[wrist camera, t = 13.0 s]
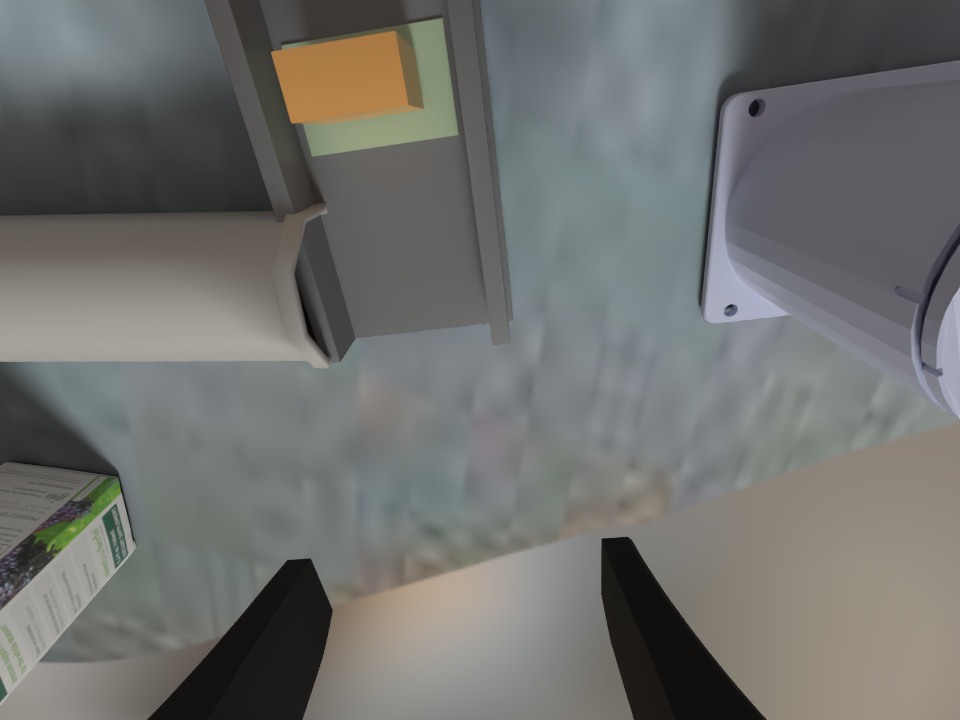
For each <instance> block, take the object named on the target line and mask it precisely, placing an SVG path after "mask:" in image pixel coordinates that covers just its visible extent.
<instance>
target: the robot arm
mask: <svg viewBox="0 0 960 720" xmlns="http://www.w3.org/2000/svg"><path fill="white" fill-rule="evenodd" d="M754 100H757V101H758V102H759V109H758V112H757V113H756V114H755V115H754V116H752V117H751V116H750V114H749V110H748V109H749V106H750V104H751V103H752V102H753V101H754ZM730 304H733V307H732V309H731V310H730V311H729V312H727V313H724V309H725V307H727V306H728V305H730ZM701 315H702V316H703V318H704V319H706V320H707V321H708V322H710V323H721V322H730V321H740V320H749V319H758V318H767V317H776V316H785V315H791V316H793V317H795V318H796V319H798V320H799V321H801V322H803V323H804V324H806V325H807V326H809V327H811V328H812V329H814V330H815V331H817V332H819V333H820V334H822V335H823V336H825V337H827V338H828V339H830V340H831V341H833V342H835V343H836V344H838V345H839V346H841V347H843V348H844V349H846V350H847V351H849V352H851V353H852V354H854V355H855V356H857V357H859V358H860V359H862V360H863V361H865V362H867V363H868V364H870V365H871V366H873V367H875V368H876V369H878V370H879V371H881V372H883V373H884V374H886V375H887V376H889V377H891V378H892V379H894V380H895V381H897V382H899V383H900V384H902V385H903V386H905V387H907V388H908V389H910V390H911V391H913V392H915V393H916V394H918V395H919V396H921V397H923V398H924V399H926V400H927V401H929V402H931V403H932V404H934V405H935V406H937V407H939V408H940V409H942V410H943V411H945V412H946V413H948V414H950V415H951V416H954V417H955V418H957V419H958V420H960V60H958V61H951V62H945V63H938V64H931V65H924V66H918V67H911V68H904V69H898V70H891V71H884V72H877V73H871V74H864V75H857V76H851V77H844V78H837V79H830V80H824V81H817V82H810V83H804V84H797V85H790V86H783V87H777V88H770V89H763V90H756V91H750V92H743V93H737V94H734V95H732V96H730V97H729V98H728V99H727V100H726V101H725V102H724V104H723V105H722V108H721V112H720V119H719V129H718V140H717V150H716V160H715V170H714V180H713V191H712V201H711V211H710V221H709V232H708V242H707V252H706V262H705V273H704V283H703V293H702V303H701ZM601 557H602V559H601V562H602V563H601V564H602V565H601V568H602V570H601V571H602V572H601V586H602V587H601V595H602V600H603V605H604V610H605V615H606V620H607V625H608V630H609V635H610V640H611V644H612V647H613V651H614V654H615V657H616V661H617V664H618V668H619V671H620V674H621V678H622V681H623V684H624V688H625V691H626V694H627V698H628V701H629V704H630V708H631V711H632V714H633V718H634V720H766V718H765V717H764V716H763V715H762V714H761V713H760V712H759V711H758V710H757V709H756V707H755V706H754V705H753V704H752V703H751V702H750V701H749V700H748V698H747V697H746V696H745V695H744V694H743V692H742V691H741V690H740V689H739V688H738V687H737V685H736V684H735V683H734V682H733V681H732V679H731V678H730V677H729V676H728V675H727V674H726V672H725V671H724V670H723V669H722V667H721V666H720V665H719V664H718V662H717V661H716V660H715V659H714V657H713V656H712V655H711V654H710V653H709V651H708V650H707V649H706V648H705V647H704V645H703V644H702V642H701V641H700V640H699V638H698V637H697V636H696V635H695V633H694V632H693V631H692V629H691V628H690V627H689V625H688V624H687V623H686V621H685V620H684V618H683V617H682V616H681V614H680V613H679V612H678V610H677V609H676V608H675V606H674V605H673V603H672V602H671V601H670V599H669V598H668V596H667V595H666V594H665V592H664V591H663V589H662V588H661V586H660V585H659V583H658V582H657V580H656V579H655V577H654V576H653V574H652V573H651V571H650V569H649V568H648V566H647V565H646V563H645V562H644V560H643V558H642V557H641V555H640V553H639V552H638V550H637V548H636V546H635V545H634V543H633V541H632V540H631V539H630V538H628V537H619V538H604V539H602V554H601ZM332 612H333V610H332V607H331V605H330V603H329V600H328V598H327V596H326V593H325V591H324V589H323V586H322V584H321V581H320V579H319V577H318V574H317V572H316V570H315V567H314V565H313V563H312V560H311V559H296V560H287V561H286V562H285V564H284V565H283V566H282V567H281V568H280V570H279V571H278V572H277V573H276V574H275V575H274V577H273V578H272V579H271V580H270V581H269V583H268V584H267V585H266V586H265V587H264V589H263V590H262V591H261V592H260V594H259V595H258V596H257V597H256V598H255V600H254V601H253V602H252V603H251V604H250V606H249V607H248V608H247V609H246V610H245V612H244V613H243V614H242V615H241V616H240V618H239V619H238V620H237V621H236V622H235V623H234V625H233V626H232V627H231V628H230V629H229V630H228V632H227V633H226V634H225V635H224V636H223V638H222V639H221V640H220V641H219V642H218V643H217V645H216V646H215V647H214V648H213V649H212V650H211V651H210V653H209V654H208V655H207V656H206V657H205V658H204V659H203V660H202V662H201V663H200V664H199V665H198V666H197V667H196V668H195V669H194V670H193V671H192V673H191V674H190V675H189V676H188V677H187V678H186V679H185V681H183V682H182V684H181V685H180V686H179V687H178V688H177V689H176V690H175V691H174V693H172V695H171V696H170V697H169V698H168V699H167V700H166V701H165V702H164V703H163V704H162V705H161V706H160V707H159V708H158V709H157V710H156V711H155V712H154V713H153V714H152V715H151V717H149V718H148V719H147V720H302V719H303V716H304V713H305V710H306V707H307V704H308V701H309V698H310V695H311V692H312V689H313V686H314V683H315V680H316V677H317V674H318V671H319V667H320V664H321V661H322V658H323V654H324V649H325V645H326V641H327V637H328V631H329V627H330V621H331V617H332Z"/></svg>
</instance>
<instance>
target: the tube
mask: <svg viewBox="0 0 960 720" xmlns="http://www.w3.org/2000/svg"><path fill="white" fill-rule="evenodd" d="M326 213H328V212H327V206H326V204H325V203H316V204H314V205H312V206H310V207H308V208H306V209H304V210H302V211H300V212H298V213H296V214H287V215H286V216H285V219H284V221H283V222H280V223H277V220H276V217H275V214H274V211H238V212H180V213H121V214H63V215H5V216H0V362H83V361H306V362H309V363H310V364H311V365H312V366H313V367H314V368H328V367H329V366H330V364H331V363H332V357H331V356H326V355H325V354H324V353H323V352H322V350H321V349H320V348H319V347H318V344H317V341H316V338H315V335H314V332H313V329H312V326H311V323H310V320H309V317H308V314H307V311H306V308H305V305H304V302H303V299H302V296H301V293H300V290H299V287H298V284H297V281H296V278H295V274H294V273H295V269H296V265H297V260H298V256H299V251H300V247H301V242H302V238H303V234H304V229H305V225H306V222H308V221H310V220H311V219H313V218H315V217H317V216H319V215H320V214H326Z"/></svg>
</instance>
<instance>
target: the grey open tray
mask: <svg viewBox="0 0 960 720" xmlns="http://www.w3.org/2000/svg"><path fill="white" fill-rule="evenodd" d="M204 1H205V4H206V7H207V10H208V13H209V16H210V19H211V22H212V25H213V28H214V31H215V34H216V37H217V40H218V44H219V47H220V50H221V53H222V56H223V59H224V62H225V65H226V68H227V71H228V74H229V77H230V80H231V83H232V86H233V89H234V92H235V95H236V98H237V101H238V104H239V107H240V110H241V113H242V116H243V119H244V123H245V126H246V129H247V132H248V135H249V138H250V141H251V144H252V147H253V150H254V153H255V156H256V159H257V162H258V165H259V168H260V171H261V174H262V177H263V180H264V183H265V186H266V189H267V192H268V195H269V199H270V202H271V205H272V208H273V211H274V214H275V217H276V220H277V223H280V222H283V221H284V219H285V216H286V215H287V214H296V213H298V212H300V211H302V210H304V209H306V208H308V207H310V206H312V205H314V204H316V203H325V204H326V206H327V212H328V213H326V214H320V215H319V216H317V217H315V218H313V219H311V220H310V221H308V222H306V225H305V229H304V234H303V238H302V242H301V247H300V251H299V256H298V260H297V265H296V269H295V273H294V274H295V278H296V281H297V284H298V287H299V290H300V293H301V296H302V299H303V302H304V305H305V308H306V311H307V314H308V317H309V320H310V323H311V326H312V329H313V332H314V335H315V338H316V341H317V344H318V347H319V348H320V349H321V350H322V352H323V353H324V354H325V355H326V356H331V357H332V363H334V362H340V361H341V360H342V358H343V357H344V355H345V354H346V352H347V351H348V349H349V348H350V346H351V344H352V343H353V341H354V340H355V338H362V337H371V336H379V335H388V334H397V333H406V332H415V331H423V330H432V329H441V328H450V327H459V326H467V325H476V324H485V323H490V329H491V336H492V344H493V345H498V344H508V343H510V335H509V324H508V321H511V320H513V311H512V301H511V292H510V283H509V273H508V264H507V254H506V245H505V235H504V226H503V217H502V207H501V198H500V188H499V179H498V169H497V160H496V151H495V141H494V132H493V122H492V113H491V103H490V94H489V85H488V75H487V66H486V56H485V47H484V37H483V28H482V19H481V9H480V0H204ZM390 31H396V32H397V33H398V34H399V35H400V36H401V37H402V38H403V39H404V40H405V41H406V42H407V43H408V44H409V45H410V46H411V47H412V48H413V49H414V50H415V56H416V62H417V68H418V74H419V80H420V86H421V92H422V98H423V104H424V110H417V111H411V112H404V113H398V114H391V115H385V116H378V117H372V118H365V119H359V120H353V121H346V122H340V123H333V124H300V123H291V121H290V117H289V114H288V110H287V107H286V103H285V100H284V96H283V93H282V89H281V86H280V82H279V79H278V75H277V72H276V68H275V65H274V61H273V58H272V54H271V52H272V51H278V50H284V49H290V48H296V47H302V46H308V45H314V44H320V43H325V42H331V41H337V40H343V39H349V38H355V37H361V36H367V35H373V34H378V33H384V32H390Z"/></svg>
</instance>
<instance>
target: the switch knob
mask: <svg viewBox="0 0 960 720" xmlns="http://www.w3.org/2000/svg"><path fill="white" fill-rule="evenodd" d="M271 54H272V58H273V61H274V65H275V68H276V72H277V75H278V79H279V82H280V86H281V89H282V93H283V96H284V100H285V103H286V107H287V110H288V114H289V117H290V121H291V123H300V124H333V123H340V122H346V121H353V120H359V119H365V118H372V117H378V116H385V115H391V114H398V113H404V112H411V111H417V110H424V104H423V98H422V92H421V86H420V80H419V74H418V68H417V62H416V56H415V50H414V49H413V48H412V47H411V46H410V45H409V44H408V43H407V42H406V41H405V40H404V39H403V38H402V37H401V36H400V35H399V34H398V33H397V32H396V31H390V32H384V33H378V34H373V35H367V36H361V37H355V38H349V39H343V40H337V41H331V42H325V43H320V44H314V45H308V46H302V47H296V48H290V49H284V50H278V51H272V52H271Z"/></svg>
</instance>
